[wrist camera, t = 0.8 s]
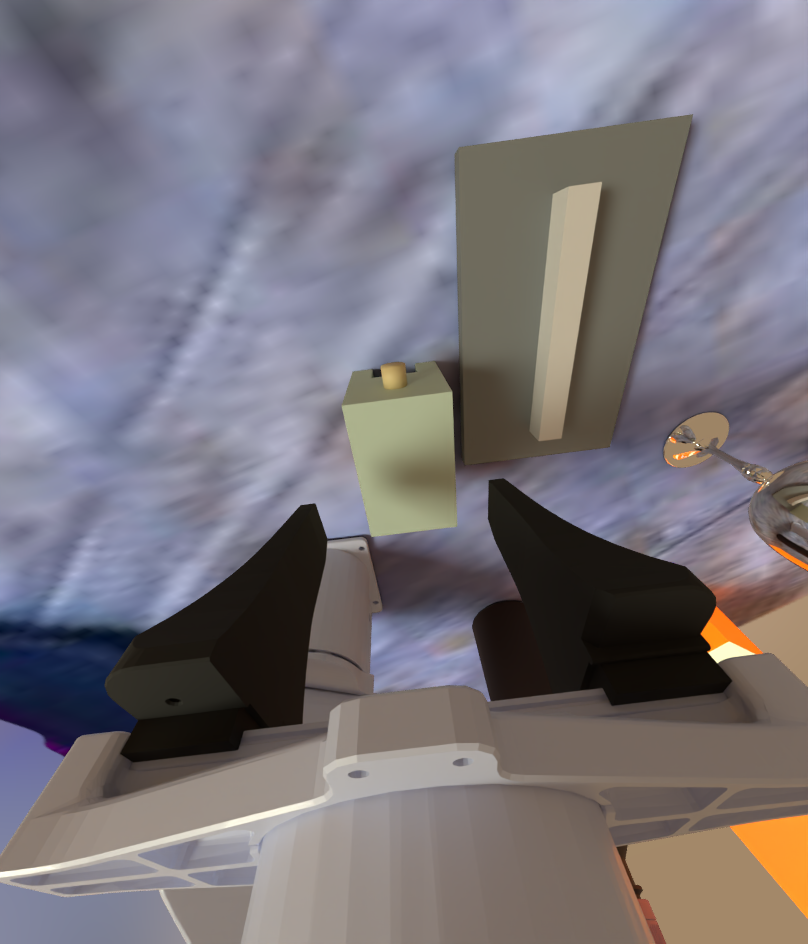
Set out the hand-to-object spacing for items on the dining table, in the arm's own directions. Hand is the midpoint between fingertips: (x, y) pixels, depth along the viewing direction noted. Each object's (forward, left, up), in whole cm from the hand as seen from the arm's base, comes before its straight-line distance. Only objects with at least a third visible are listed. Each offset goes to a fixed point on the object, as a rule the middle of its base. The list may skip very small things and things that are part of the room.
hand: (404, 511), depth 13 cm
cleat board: (+5, -9, -9) cm, 14 cm away
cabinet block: (0, 0, -10) cm, 10 cm away
